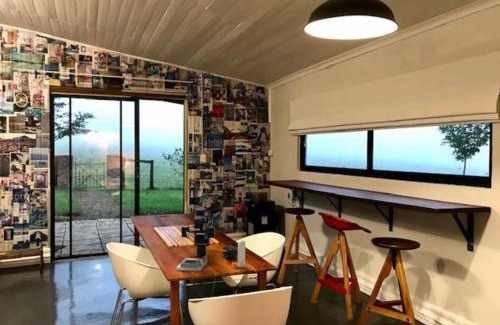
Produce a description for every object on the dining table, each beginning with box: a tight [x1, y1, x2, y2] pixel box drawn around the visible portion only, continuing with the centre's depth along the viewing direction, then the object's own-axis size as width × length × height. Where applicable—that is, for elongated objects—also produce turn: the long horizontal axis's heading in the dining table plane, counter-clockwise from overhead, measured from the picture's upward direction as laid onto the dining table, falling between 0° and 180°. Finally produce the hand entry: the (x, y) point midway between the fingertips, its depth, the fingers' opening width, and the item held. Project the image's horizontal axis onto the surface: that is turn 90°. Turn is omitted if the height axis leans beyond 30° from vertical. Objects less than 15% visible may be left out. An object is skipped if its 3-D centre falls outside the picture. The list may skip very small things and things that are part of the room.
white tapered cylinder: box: [237, 240, 246, 268], centre depth 227 cm, size 4×4×14 cm
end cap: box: [222, 244, 238, 261], centre depth 245 cm, size 10×7×7 cm
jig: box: [175, 253, 209, 272], centre depth 226 cm, size 19×13×4 cm
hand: (196, 237), depth 223 cm, fingers open, 9 cm apart
